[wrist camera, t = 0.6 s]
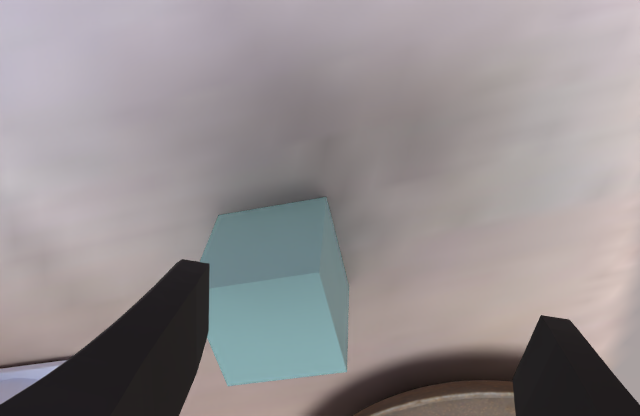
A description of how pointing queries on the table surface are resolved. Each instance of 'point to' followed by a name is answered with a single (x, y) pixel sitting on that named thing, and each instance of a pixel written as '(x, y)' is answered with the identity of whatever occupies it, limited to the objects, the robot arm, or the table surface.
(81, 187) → the table surface
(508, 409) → the plant saucer
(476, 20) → the table surface
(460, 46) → the table surface
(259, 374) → the block
